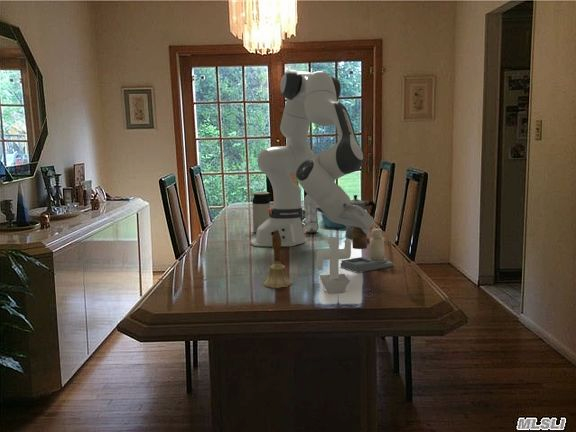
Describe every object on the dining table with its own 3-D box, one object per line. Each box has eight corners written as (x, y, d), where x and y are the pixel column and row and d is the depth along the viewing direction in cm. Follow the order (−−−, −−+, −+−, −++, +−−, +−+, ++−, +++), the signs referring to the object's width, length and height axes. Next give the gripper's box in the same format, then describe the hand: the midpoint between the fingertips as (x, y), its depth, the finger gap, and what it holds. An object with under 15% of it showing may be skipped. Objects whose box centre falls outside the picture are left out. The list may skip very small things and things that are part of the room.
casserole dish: (369, 230, 237) (369, 214, 236) (320, 230, 239) (320, 215, 238) (364, 218, 274) (364, 204, 272) (321, 218, 275) (321, 205, 274)
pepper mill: (354, 249, 163) (353, 218, 162) (351, 246, 168) (350, 216, 166) (368, 248, 164) (368, 217, 162) (365, 245, 168) (365, 215, 167)
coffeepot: (337, 238, 217) (337, 195, 215) (343, 234, 226) (343, 193, 223) (373, 240, 211) (373, 196, 209) (378, 236, 220) (378, 194, 218)
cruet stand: (357, 272, 161) (357, 235, 159) (340, 266, 169) (340, 231, 167) (393, 266, 168) (393, 230, 166) (375, 260, 176) (375, 226, 174)
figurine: (315, 287, 145) (314, 235, 143) (348, 286, 146) (347, 234, 144) (319, 295, 138) (318, 240, 136) (354, 293, 139) (353, 238, 137)
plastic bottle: (320, 231, 234) (319, 187, 231) (316, 234, 228) (315, 189, 225) (306, 231, 236) (306, 187, 233) (302, 233, 230) (301, 189, 227)
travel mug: (268, 232, 234) (267, 193, 231) (251, 232, 235) (250, 193, 233) (272, 229, 242) (271, 191, 239) (255, 229, 243) (254, 191, 240)
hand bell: (295, 286, 147) (294, 231, 145) (267, 289, 145) (265, 233, 142) (287, 279, 155) (286, 227, 153) (260, 282, 153) (258, 229, 150)
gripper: (362, 197, 151) (388, 227, 157) (323, 193, 169) (348, 219, 175) (350, 214, 149) (376, 243, 156) (312, 207, 167) (337, 234, 173)
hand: (361, 230), depth 165 cm, fingers closed on pepper mill, 5 cm apart
